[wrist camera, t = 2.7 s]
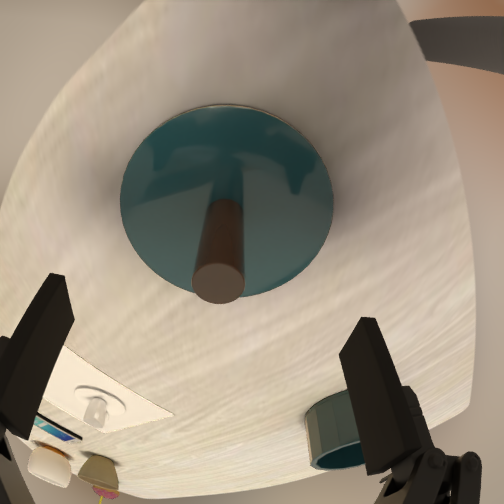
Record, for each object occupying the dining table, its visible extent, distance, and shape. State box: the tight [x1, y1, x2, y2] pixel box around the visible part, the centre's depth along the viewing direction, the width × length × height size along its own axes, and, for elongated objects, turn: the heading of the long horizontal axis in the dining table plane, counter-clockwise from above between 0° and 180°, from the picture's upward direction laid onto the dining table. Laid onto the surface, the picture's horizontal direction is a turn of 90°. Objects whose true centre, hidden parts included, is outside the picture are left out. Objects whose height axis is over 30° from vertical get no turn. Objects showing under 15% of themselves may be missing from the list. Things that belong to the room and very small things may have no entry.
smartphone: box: [34, 413, 82, 444], centre depth 46 cm, size 7×1×15 cm
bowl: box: [305, 390, 365, 470], centre depth 37 cm, size 14×14×8 cm
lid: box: [120, 105, 333, 304], centre depth 19 cm, size 15×15×8 cm
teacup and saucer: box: [73, 387, 126, 430], centre depth 36 cm, size 9×8×4 cm
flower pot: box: [78, 455, 118, 490], centre depth 53 cm, size 10×10×7 cm
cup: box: [28, 446, 71, 488], centre depth 55 cm, size 12×12×10 cm
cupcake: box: [93, 485, 119, 504], centre depth 65 cm, size 9×8×12 cm
